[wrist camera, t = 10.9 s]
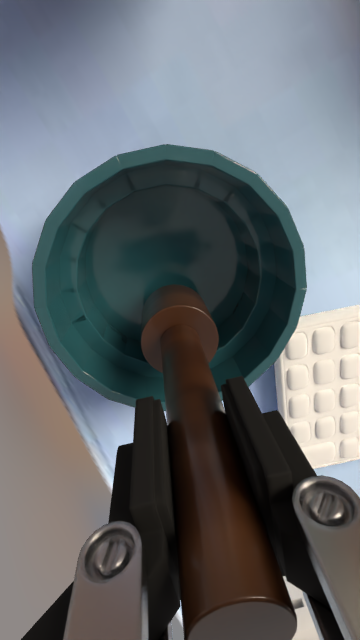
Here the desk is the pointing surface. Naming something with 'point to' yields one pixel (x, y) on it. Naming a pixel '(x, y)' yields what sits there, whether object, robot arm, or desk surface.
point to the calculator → (323, 386)
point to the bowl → (167, 266)
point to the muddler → (211, 486)
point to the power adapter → (301, 614)
